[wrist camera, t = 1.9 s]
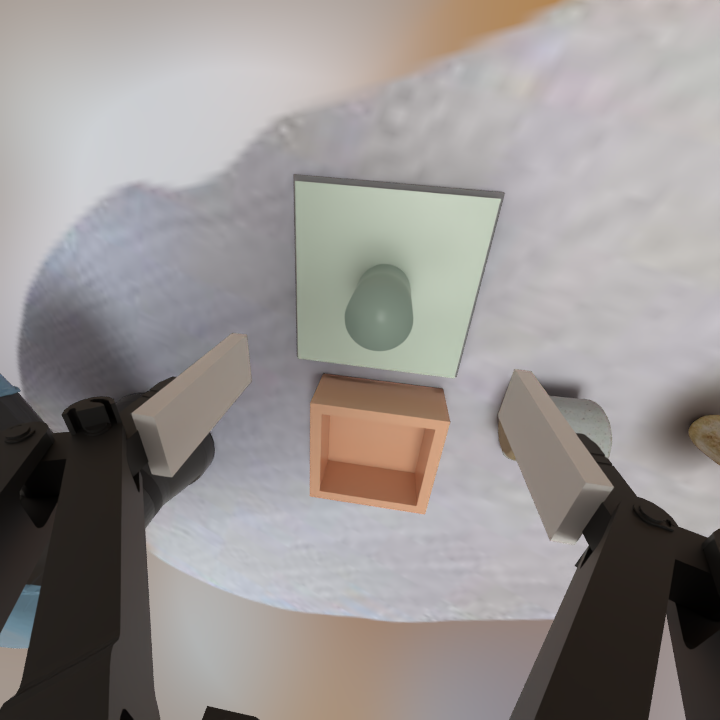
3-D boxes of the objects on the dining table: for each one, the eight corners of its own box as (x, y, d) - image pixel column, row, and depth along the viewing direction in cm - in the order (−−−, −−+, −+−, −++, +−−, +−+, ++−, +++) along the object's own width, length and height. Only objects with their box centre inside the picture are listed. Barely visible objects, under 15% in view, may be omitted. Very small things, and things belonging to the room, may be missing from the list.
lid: (301, 353, 35) (271, 400, 27) (299, 181, 27) (256, 174, 19) (452, 372, 34) (468, 427, 26) (496, 198, 26) (539, 199, 18)
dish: (321, 459, 43) (309, 496, 38) (323, 373, 37) (310, 402, 32) (422, 474, 42) (425, 514, 37) (443, 388, 36) (450, 422, 31)
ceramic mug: (505, 378, 34) (530, 424, 28) (583, 385, 34) (628, 434, 27) (483, 449, 40) (500, 502, 33) (551, 456, 39) (582, 512, 32)
